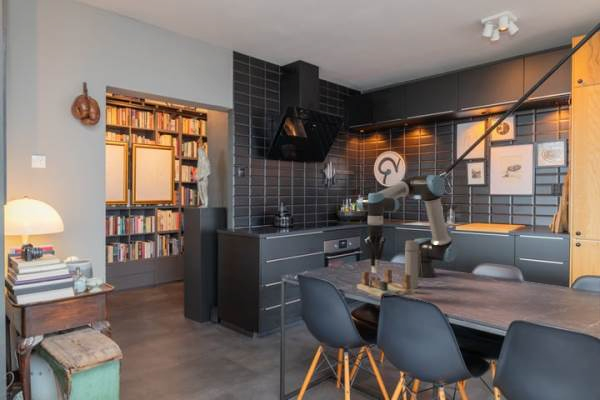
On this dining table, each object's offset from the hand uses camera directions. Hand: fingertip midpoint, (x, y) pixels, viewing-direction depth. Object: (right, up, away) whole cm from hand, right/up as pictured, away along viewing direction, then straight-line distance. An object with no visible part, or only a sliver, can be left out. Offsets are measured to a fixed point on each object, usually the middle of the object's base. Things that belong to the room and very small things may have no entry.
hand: (374, 272), depth 191 cm
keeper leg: (+3, -9, +7) cm, 12 cm away
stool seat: (+8, -12, +12) cm, 19 cm away
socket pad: (+6, -10, +5) cm, 13 cm away
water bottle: (+24, -12, +19) cm, 33 cm away
